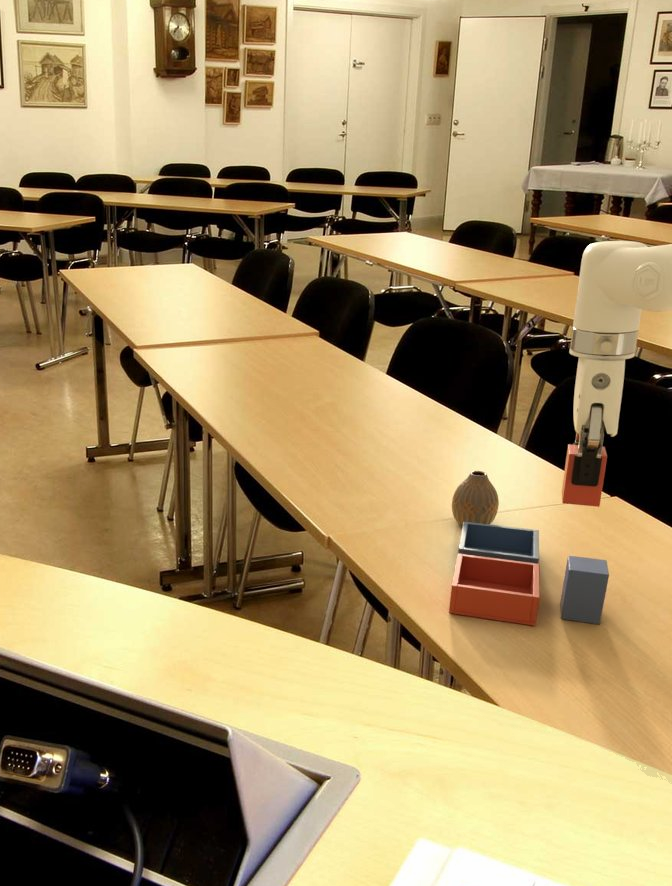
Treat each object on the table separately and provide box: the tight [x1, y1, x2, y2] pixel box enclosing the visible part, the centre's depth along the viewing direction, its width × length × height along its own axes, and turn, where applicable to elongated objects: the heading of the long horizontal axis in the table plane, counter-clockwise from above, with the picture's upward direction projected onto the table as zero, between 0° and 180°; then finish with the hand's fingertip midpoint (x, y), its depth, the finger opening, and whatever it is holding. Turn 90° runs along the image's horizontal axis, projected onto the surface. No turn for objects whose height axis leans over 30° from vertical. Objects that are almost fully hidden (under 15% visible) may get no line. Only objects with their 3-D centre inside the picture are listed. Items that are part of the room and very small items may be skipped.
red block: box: [561, 443, 608, 508], centre depth 122 cm, size 4×4×7 cm
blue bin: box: [457, 522, 540, 564], centre depth 130 cm, size 10×10×4 cm
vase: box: [451, 470, 500, 528], centre depth 143 cm, size 7×7×9 cm
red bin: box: [448, 553, 540, 627], centre depth 120 cm, size 10×10×4 cm
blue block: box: [559, 555, 610, 625], centre depth 116 cm, size 4×4×7 cm
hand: (583, 477), depth 122 cm, fingers closed on red block, 4 cm apart
